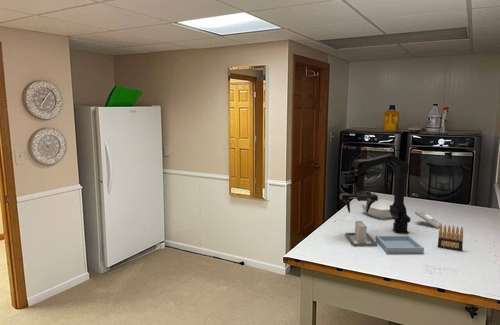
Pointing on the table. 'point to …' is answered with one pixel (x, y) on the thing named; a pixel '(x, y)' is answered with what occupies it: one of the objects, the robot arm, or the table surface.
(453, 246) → the ammunition clip
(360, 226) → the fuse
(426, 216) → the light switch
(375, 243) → the holder frame
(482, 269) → the table surface
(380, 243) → the tray
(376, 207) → the white bowl
